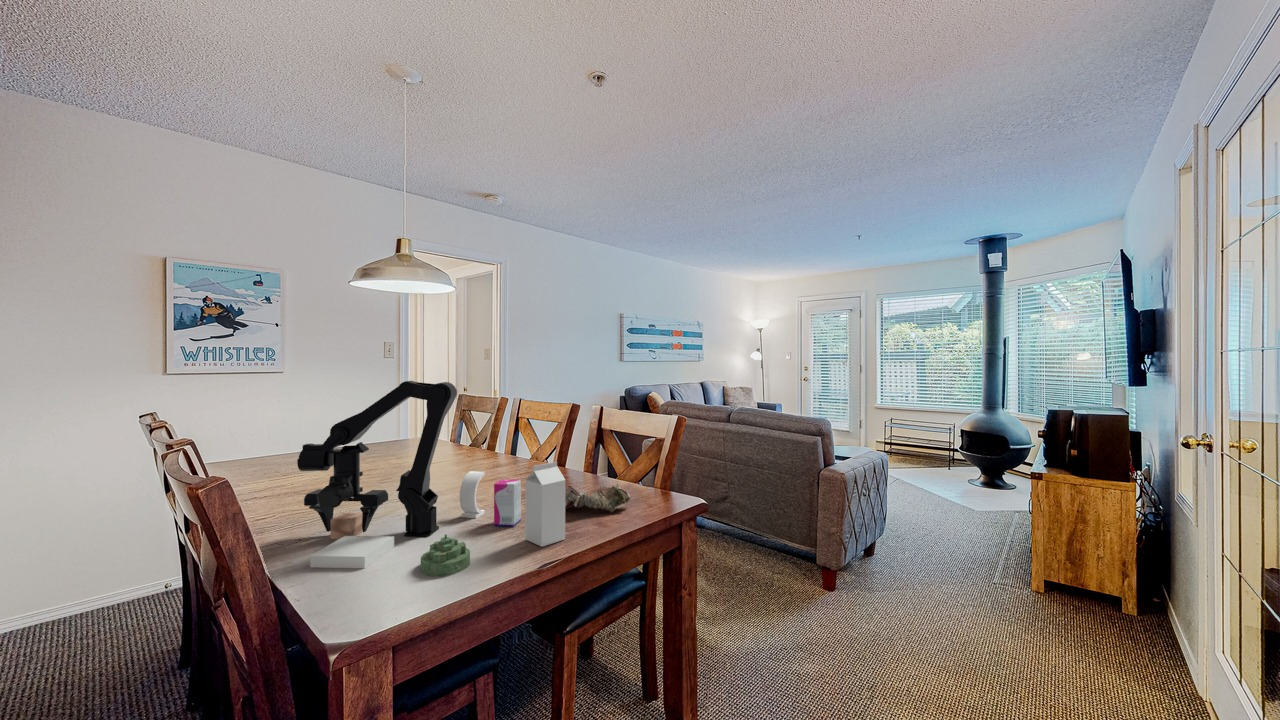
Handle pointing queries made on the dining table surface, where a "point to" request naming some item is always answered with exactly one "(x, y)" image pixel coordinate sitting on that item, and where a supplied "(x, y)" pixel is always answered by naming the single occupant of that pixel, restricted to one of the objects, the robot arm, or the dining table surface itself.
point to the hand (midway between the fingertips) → (346, 531)
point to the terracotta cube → (346, 525)
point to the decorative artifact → (445, 558)
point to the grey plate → (352, 552)
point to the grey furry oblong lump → (597, 498)
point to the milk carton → (545, 505)
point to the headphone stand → (470, 495)
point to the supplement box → (507, 503)
